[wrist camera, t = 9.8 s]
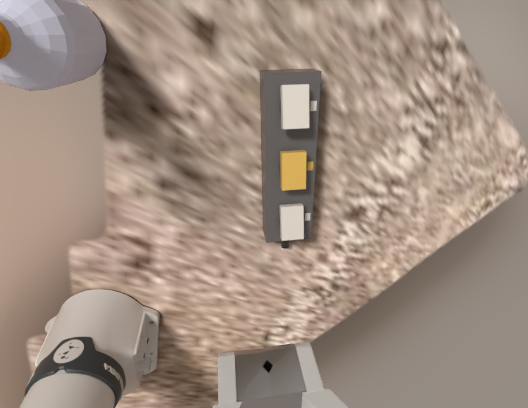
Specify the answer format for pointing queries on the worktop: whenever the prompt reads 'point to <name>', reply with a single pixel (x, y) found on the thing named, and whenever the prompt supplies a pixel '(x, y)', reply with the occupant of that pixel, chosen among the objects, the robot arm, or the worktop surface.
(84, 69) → the soap bottle
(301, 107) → the plate
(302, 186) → the block
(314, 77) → the power strip
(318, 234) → the worktop surface
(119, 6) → the worktop surface
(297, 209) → the block
